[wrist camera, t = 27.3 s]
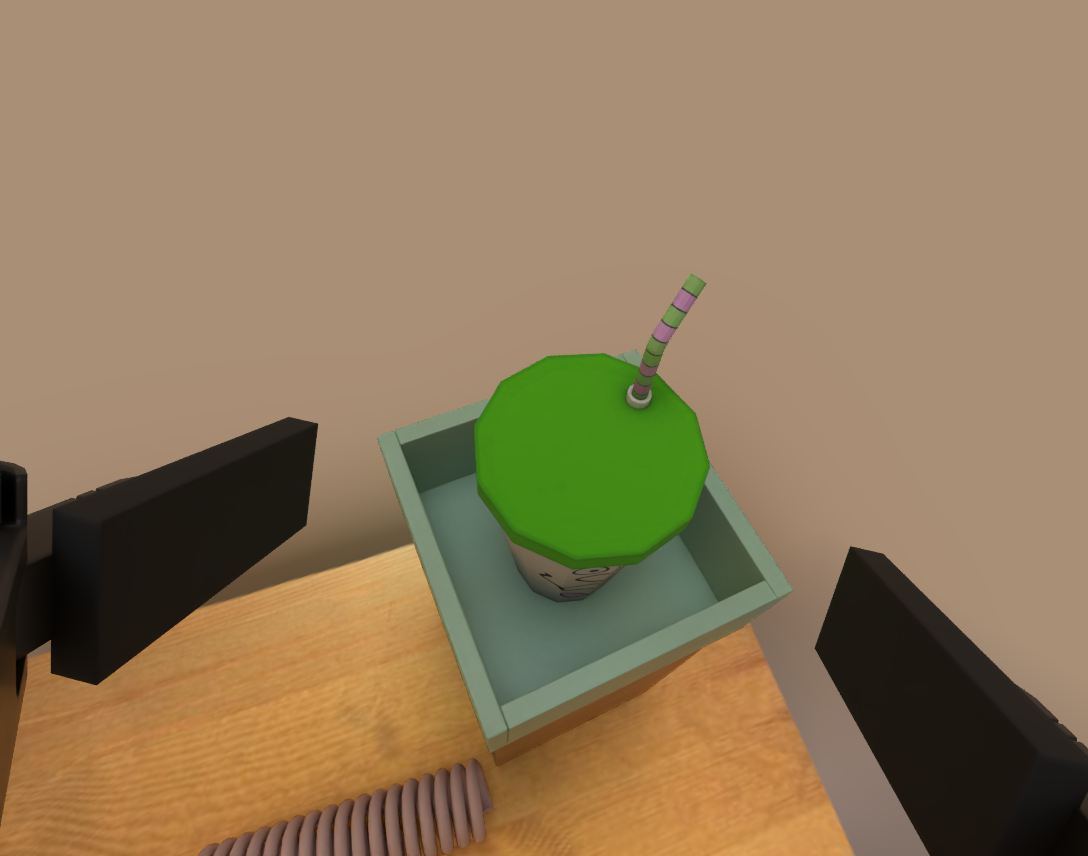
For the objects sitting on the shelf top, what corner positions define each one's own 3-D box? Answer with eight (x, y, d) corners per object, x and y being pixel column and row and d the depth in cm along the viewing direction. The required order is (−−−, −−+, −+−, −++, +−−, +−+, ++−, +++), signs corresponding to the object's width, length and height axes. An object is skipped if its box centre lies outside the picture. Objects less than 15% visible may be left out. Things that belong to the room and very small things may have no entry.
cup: (507, 664, 26) (514, 532, 13) (461, 503, 30) (433, 279, 17) (673, 609, 28) (819, 445, 15) (610, 463, 32) (684, 231, 19)
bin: (489, 753, 25) (486, 740, 20) (396, 496, 31) (376, 435, 26) (742, 628, 29) (794, 590, 24) (616, 416, 34) (636, 348, 29)
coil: (176, 958, 33) (500, 841, 37) (172, 858, 35) (481, 756, 39) (210, 931, 37) (498, 829, 41) (205, 844, 39) (481, 753, 43)
